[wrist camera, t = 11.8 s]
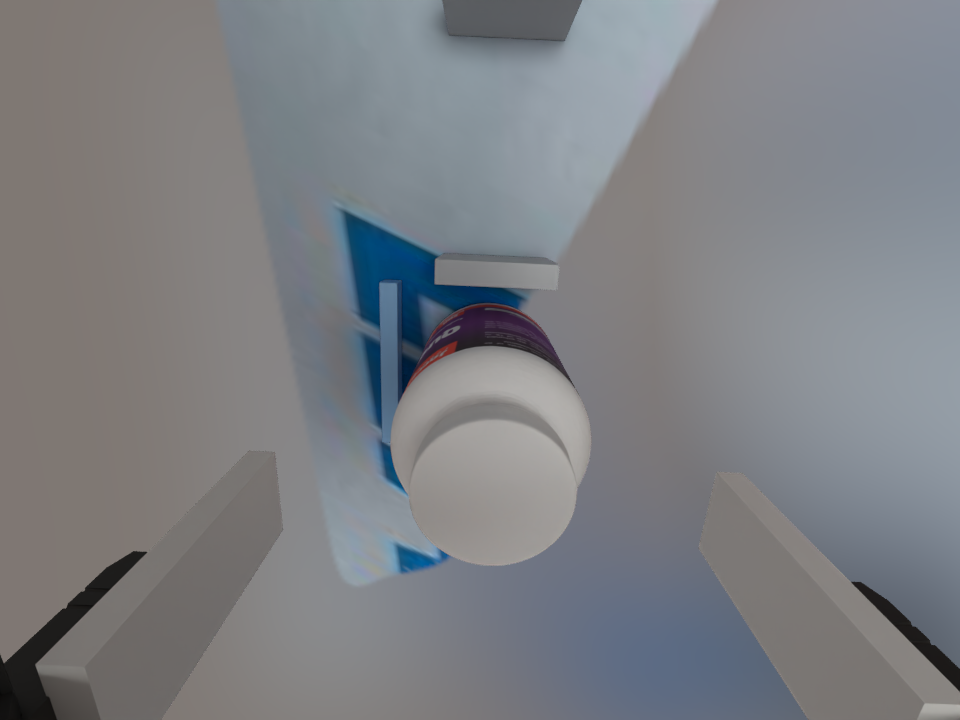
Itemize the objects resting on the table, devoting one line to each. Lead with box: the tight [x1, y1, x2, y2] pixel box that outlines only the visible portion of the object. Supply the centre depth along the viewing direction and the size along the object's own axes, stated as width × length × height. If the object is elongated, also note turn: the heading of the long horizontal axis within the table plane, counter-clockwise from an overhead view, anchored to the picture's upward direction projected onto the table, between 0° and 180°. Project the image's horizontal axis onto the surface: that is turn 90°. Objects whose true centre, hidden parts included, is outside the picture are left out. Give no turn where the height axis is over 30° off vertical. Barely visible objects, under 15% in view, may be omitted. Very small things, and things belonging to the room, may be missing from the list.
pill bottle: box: [390, 303, 591, 566], centre depth 21 cm, size 8×8×14 cm
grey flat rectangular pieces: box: [379, 0, 582, 443], centre depth 24 cm, size 10×26×5 cm, turn 177°
